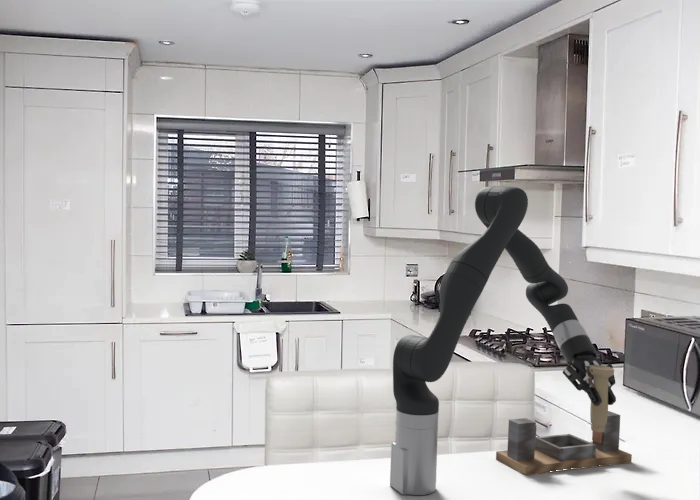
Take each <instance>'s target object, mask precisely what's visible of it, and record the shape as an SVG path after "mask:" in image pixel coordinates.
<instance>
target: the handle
mask: <svg viewBox="0 0 700 500" xmlns="http://www.w3.org/2000/svg"><path fill="white" fill-rule="evenodd" d="M589 371H590V373H591V374H592V375H593V376H594V379H593V385H594V387H593V388H596V390H597V392H598V394H599V396H600V398H601V400H602V402H601V403H600V404H599V405H598V406H595V405H594V404H593V403H592V402H591V401H590V409H589V410H590V412H589V413H590V423H591V425H590V430H591V431H592V432H593V431H595V432H604V431H605V425H606V422H607V415H608V411H609V405H608V378H609V377H611V376H612V375H614V376H615V369H614V367H613V368H611V367H608V366H603V365H589Z"/></svg>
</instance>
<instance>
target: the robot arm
mask: <svg viewBox="0 0 700 500" xmlns="http://www.w3.org/2000/svg"><path fill="white" fill-rule="evenodd" d="M528 199H529V198H528V195H527V192H525V190H524V189H522V188H520V187H516V186H503V185H502V186H499V185H491V186H485V187H483V188H481V189H480V190H479V191H478V192H477V194H476V196H475V201H474V208H475V209H474V210H475V213H476V216H477V217H478V219H479V220H480V221H481V223H482V224H483V225H484V226H485V227H486V228H487V229H486V230H485V231H484V232H483V233H482V234H481V235H480V236H479V237H477V238H475V239H474V240H473V241H472V242H470V243H469V244H468V245H466V246H465V247H464V248H462V249H461V250H460V251H459V252H458V253H457V254H456V255H455V256H454V257H453V258H452V260H451V262H450V263H449V265H448V267H447V269H446V271H445V273H444V274H443V276H442V279H441V280H440V286H439V303H440V305H439V307H440V308H439V309H440V311H439V317H438V319H437V322H436V324H435V326H434V328H433V330H432V331H431V333H430V334H429V336H428V337H425V336H420V335H413V334H408V335H404V336H403V337H401V338H400V339H399V340H398V341H397V343H396V346H395V348H394V350H393V357H392V389H393V390H392V391H393V397H394V400H395V406H396V409H395V411H396V412H395V431H394V432H395V433H394V434H395V436H394V437H395V438H394V442H391V446H390V473H389V474H390V475H389V476H390V477H389V486H390V487H392V489H394V490H395V491H397V492H398V493H400V494H401V495H412V496H424V495H430V494H432V493H434V492H435V491H436V490H437V489H436V488H437V465H438V464H437V463H438V461H437V460H438V439H439V436H438V435H439V411H440V400H439V398H438V397H437V395H436V394H435V393H433V392H432V391H431V390H430V389H429V387H428V385H427V383H434V382H437V381H439V380H440V379H441V378H442V377H443V375H444V374H445V373H446V372H447V369H448V367H449V365H450V363H451V361H452V358H453V356H454V353H455V350H456V348H457V345H458V342H459V341H460V338H461V335H462V332H463V330H464V328H465V326H466V323H467V321H468V320H469V317H470V315H471V313H472V311H473V308H474V307H475V305H476V304H477V302H478V300H479V299H480V298H479V297H481V295H482V293H483V292H484V288H485V287H486V285H487V282H488V280H489V278H490V277H491V274H492V272H493V270H494V268H495V266H496V264H497V263H498V261H499V259H500V258H501V255H502V254H503V252H504V250H505V251H506V252H507V253H508V255H509V256H510V257H511V259H512V260H513V262H514V263H515V266H516V267H517V269H518V271H519V273H520V274H521V276H522V278H523V280H525V281H526V282H527V283H528V284H529V285H527V286H526V288H525V296H526V299H527V301H528V302H529V303H530V304H531V305H532V306H533V308H534V309H536V310H537V311H538V313H540V315H541V316H542V317H543V318H544V320H545V321H546V323H547V326H548V327H549V328H550V331H551V332H552V334H553V337H554V341H555V342H556V344H557V346H558V349H559V350H560V352H561V355H562V356H563V358H564V359H563V360H565V362H566V364H567V365H566V367H565V368H564V369H563V370H562V374H563V375H564V377H566V379H567V380H568V381H569V382H570V383H571V384H572V385H573V387H575V389H577V391H579V392H580V391H583V392H585V394H587V396H588V398H589V400H590V403H591V402H592V403H593V404H594V405H595V406H598V405H599V404H600V403H601V402H602V400H601V398H600V396H599V394H598V392H597V390H596V388H593V387H594V385H593V379H594V376H593V375H592V374H591V373H590V371H589V365H603V366H608V367H611V368H613V369H614V367H613V365H612V364H611V363H607V365H606V364H604V363H602V361H600V359H598V358H597V349H596V348H595V346H594V345H593V343H592V341H591V339H590V337H589V335H588V333H587V332H586V330H585V328H584V327H583V325H582V324H581V322H580V321H579V319H578V317H577V315H576V313H575V311H574V310H573V308H572V307H571V306H570V304H567V303H563V302H562V303H558V304H554V303H556V302H558V301H561V300H563V299H564V298H565V297H566V296H568V292H569V287H568V284H567V282H566V280H565V279H564V277H562V276H561V275H560V274H559V273H558V272H556V270H554V269H553V268H552V267H551V266H550V265H549V263H548V261H547V260H546V257H545V255H544V254H543V252H542V251H541V248H539V246H538V245H537V244H536V243H535V242H534V241H533V240H532V239H530V238H529V236H527V234H525V233H523V232H522V231H521V230H520V229H519V227H520V226H521V224H522V222H523V220H524V219H525V216H526V213H527V211H528V206H529V200H528ZM615 378H616V377H615V374H614V375H612V376H611V377H609V378H608V406H613V405H614V404H615V403H616V401H617V397H616V395H615V394H614V392H613V389H612V387H613V386H614V385H616V379H615Z"/></svg>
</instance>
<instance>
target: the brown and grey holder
mask: <svg viewBox="0 0 700 500" xmlns="http://www.w3.org/2000/svg"><path fill="white" fill-rule="evenodd" d="M536 423H537V422H536V421H534V420H531V419H529V418H526V417H523V418H521V417H520V418H511V419H508V429H507V430H508V431H507V433H508V434H507V450H498V451H497V450H496V452H495V460H496V461H499V462H500V463H502V464H503V465H505V466H507V467H509V468H511V469H513V470H515V471H517V472H518V473H520V474H522V475H524V476H529V475H537V474H536V473H538V474H545V473H544V472H547V473H551V472H550V471H555V472H557V471H556V470H563V469H571V468H581V469H583V468H582V467H589V468H593V467H592V466H597V467H600V466H599V465H606V466H610V465H609V464H614V465H621V464H627V463H628V464H630V463H632V459H633V457H632V456H633V455H632V454H631V453H630V452H626V451H625V450H622V449H620V448H619V447H620V432H621V431H620V429H621V428H620V427H621V414H619V413H616V412H614V411H609V410H608V415H607V422H606V425H605V431H604V432H595V431H592V433H591V435H592V437H591V438H592V439H591V441H588V440H585V439H584V438H583V439H582V438H580V437H578V436H575V435H573V434H570V433H564V434H554V435H544V436H542V435H541V436H537V424H536Z"/></svg>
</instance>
